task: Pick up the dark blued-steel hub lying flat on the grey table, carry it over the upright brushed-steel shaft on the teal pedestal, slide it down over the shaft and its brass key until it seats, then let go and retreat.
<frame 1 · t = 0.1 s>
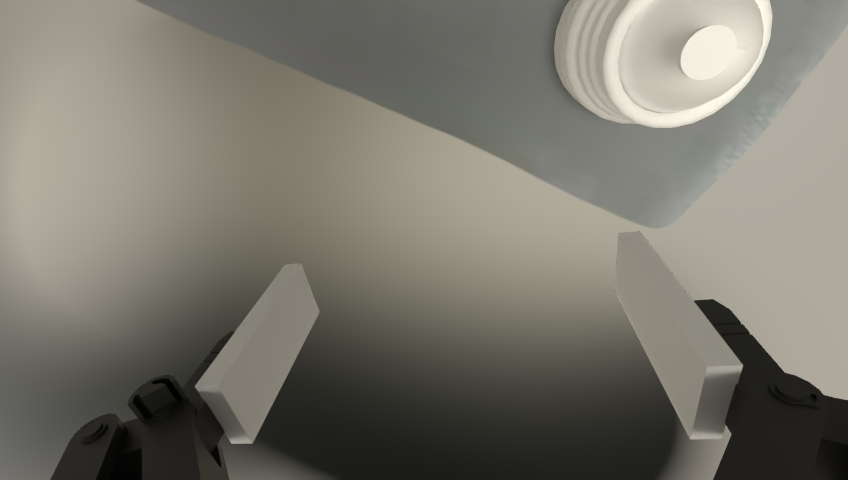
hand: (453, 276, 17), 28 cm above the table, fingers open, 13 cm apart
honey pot: (626, 38, 36), on the table
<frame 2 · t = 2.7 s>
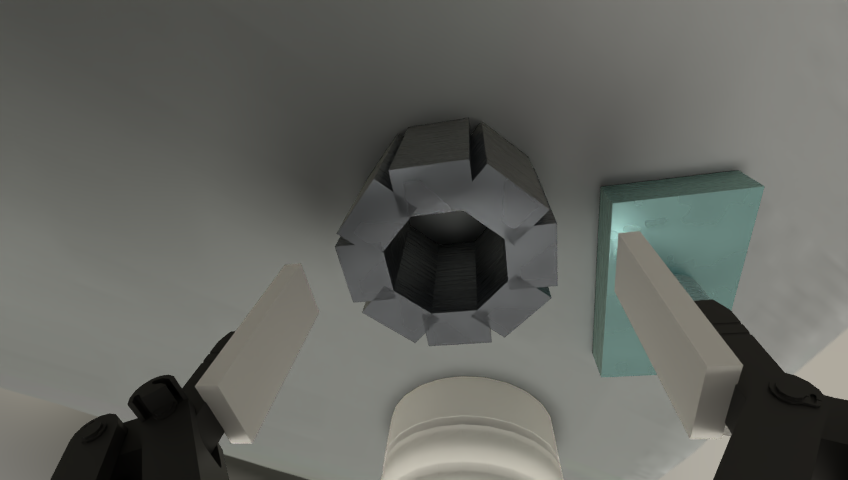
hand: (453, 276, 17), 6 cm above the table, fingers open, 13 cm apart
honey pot: (470, 428, 32), on the table
post: (654, 275, 23), on the table
hub: (450, 204, 22), on the table
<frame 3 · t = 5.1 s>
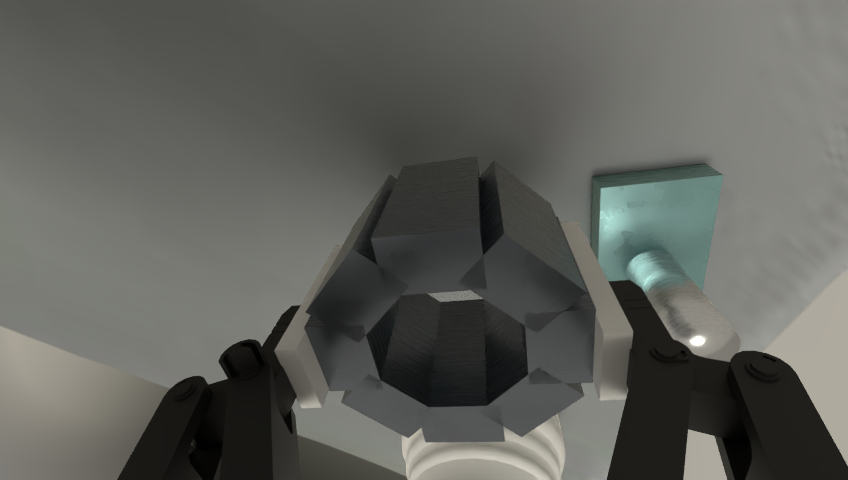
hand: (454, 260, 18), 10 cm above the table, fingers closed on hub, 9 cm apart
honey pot: (480, 398, 36), on the table
post: (639, 254, 27), on the table
hub: (454, 256, 18), point 9 cm above the table, touching gripper
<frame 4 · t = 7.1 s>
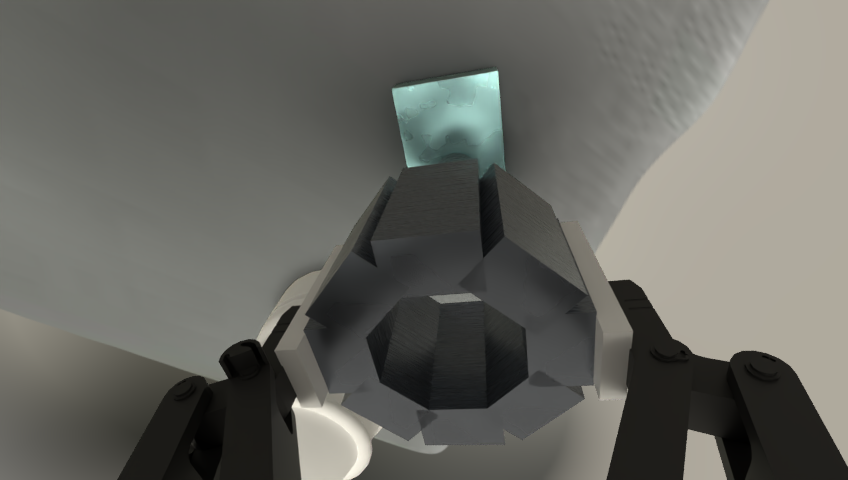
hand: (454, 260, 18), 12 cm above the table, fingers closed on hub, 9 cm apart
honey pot: (347, 324, 37), on the table
post: (457, 164, 28), on the table
hub: (454, 258, 18), point 12 cm above the table, touching gripper
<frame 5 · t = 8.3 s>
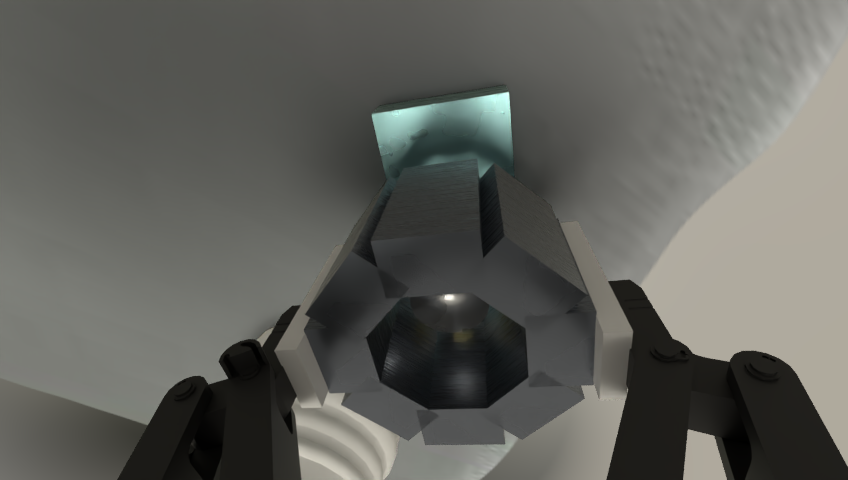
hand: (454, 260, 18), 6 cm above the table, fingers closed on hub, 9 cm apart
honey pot: (328, 379, 32), on the table
post: (456, 203, 23), on the table
hub: (454, 258, 18), point 6 cm above the table, touching gripper
when the fingers open (2 cm above the table, at t = 9.5 s): hub stays where it is, resting on post.
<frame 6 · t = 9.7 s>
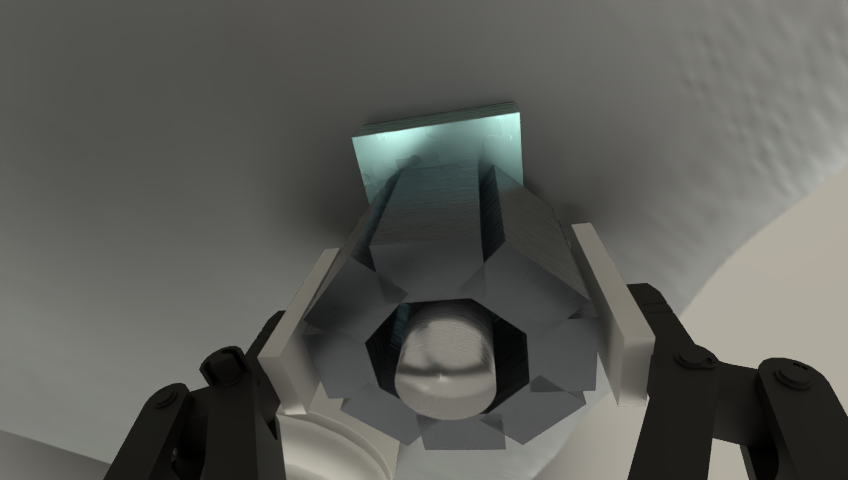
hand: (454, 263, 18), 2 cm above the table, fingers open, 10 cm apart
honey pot: (312, 423, 29), on the table
post: (455, 237, 19), on the table
hub: (454, 260, 18), point 2 cm above the table, touching post
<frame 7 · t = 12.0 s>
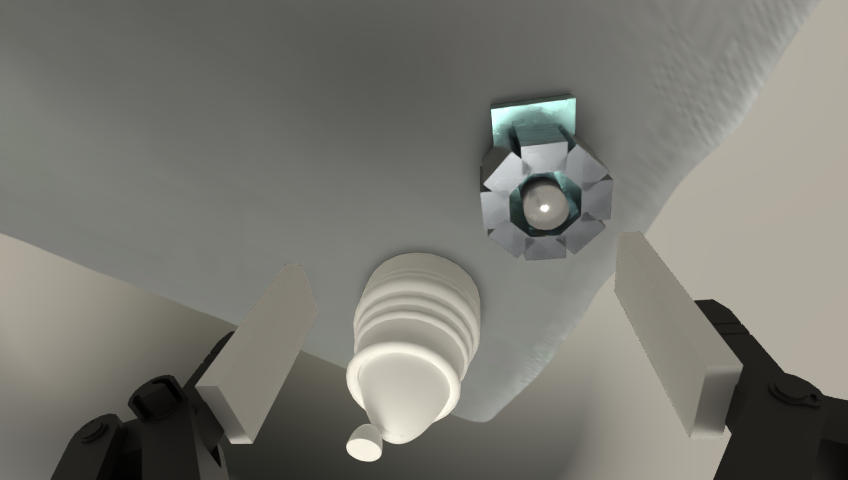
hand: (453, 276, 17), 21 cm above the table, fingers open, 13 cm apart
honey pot: (422, 301, 44), on the table
post: (531, 169, 36), on the table
hub: (534, 177, 34), point 2 cm above the table, touching post
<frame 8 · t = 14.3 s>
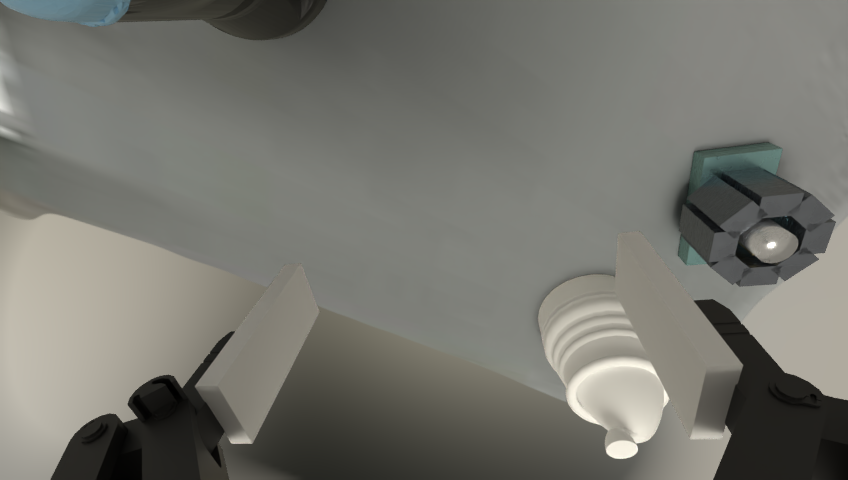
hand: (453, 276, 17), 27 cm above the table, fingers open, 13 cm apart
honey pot: (590, 315, 50), on the table
post: (719, 203, 41), on the table
hub: (730, 212, 39), point 2 cm above the table, touching post
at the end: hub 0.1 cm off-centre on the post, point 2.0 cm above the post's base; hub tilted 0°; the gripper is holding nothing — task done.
